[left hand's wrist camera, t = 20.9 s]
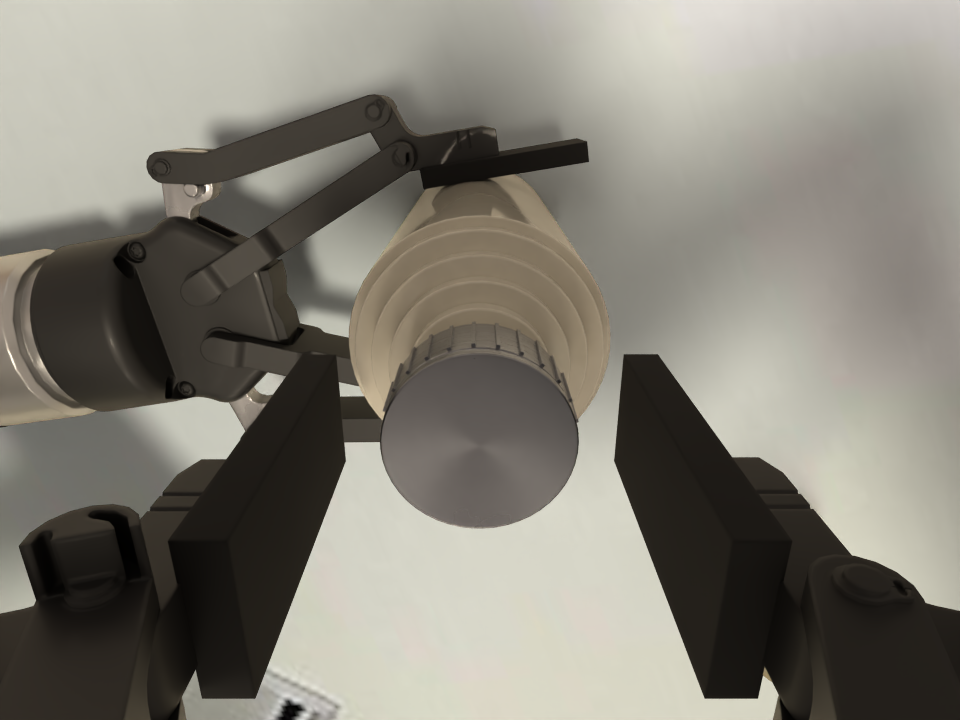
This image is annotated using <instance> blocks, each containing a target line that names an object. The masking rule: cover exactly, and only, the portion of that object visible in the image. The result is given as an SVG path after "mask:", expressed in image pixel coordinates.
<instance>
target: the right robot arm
mask: <svg viewBox="0 0 960 720" xmlns="http://www.w3.org/2000/svg"><path fill="white" fill-rule="evenodd" d="M369 132H371V134H372V136H373V138H374V139H375V141H376V143H377V144H378V146H379V148H380V149H381V151H380V152H379V153H377V154H376V155H374V156H373V157H371V158H370V159H368V160H367V161H365V162H364V163H362V164H361V165H359V166H358V167H356V168H355V169H353V170H352V171H350V172H349V173H347V174H346V175H344V176H343V177H341V178H339V179H338V180H336V181H335V182H333V183H332V184H330V185H329V186H327V187H326V188H324V189H323V190H321V191H320V192H318V193H317V194H315V195H314V196H312V197H311V198H309V199H308V200H306V201H305V202H303V203H302V204H300V205H299V206H297V207H296V208H294V209H293V210H291V211H290V212H288V213H287V214H285V215H284V216H282V217H281V218H279V219H278V220H276V221H275V222H273V223H272V224H270V225H269V226H267V227H266V228H264V229H263V230H261V231H259V232H258V233H256V234H255V235H253V236H252V237H250V238H247V237H245V236H243V235H240V234H238V233H236V232H234V231H232V230H230V229H228V228H226V227H223V226H221V225H219V224H217V223H215V222H213V221H211V220H209V219H207V218H204V217H202V216H200V215H199V210H200V207H201V205H202V204H203V203H204V202H206V201H209V200H212V199H215V198H216V197H218V196H219V194H220V192H221V182H223V181H226V180H230V179H234V178H237V177H241V176H244V175H248V174H251V173H254V172H257V171H259V170H262V169H265V168H268V167H271V166H274V165H277V164H280V163H283V162H285V161H288V160H291V159H294V158H297V157H300V156H303V155H306V154H309V153H312V152H314V151H317V150H320V149H323V148H326V147H329V146H332V145H335V144H338V143H340V142H343V141H346V140H349V139H352V138H355V137H358V136H361V135H364V134H367V133H369ZM585 162H589V158H588V147H587V141H584V140H580V139H571V140H565V141H559V142H553V143H547V144H541V145H535V146H530V147H524V148H518V149H512V150H506V151H500V152H499V150H498V143H497V136H496V130H495V129H494V128H490V127H486V126H477V127H471V128H465V129H459V130H454V131H448V132H442V133H436V134H430V135H418V134H415V133H413V132H412V131H411V130H409V129H408V127H407V126H406V124H405V122H404V121H403V119H402V117H401V115H400V114H399V112H398V110H397V106H396V104H395V103H394V101H393V100H392V99H390V98H389V97H386V96H382V95H375V94H374V95H367V96H365V97H362V98H359V99H356V100H353V101H350V102H348V103H345V104H342V105H339V106H336V107H333V108H331V109H328V110H325V111H322V112H319V113H316V114H314V115H311V116H308V117H305V118H302V119H299V120H297V121H294V122H291V123H288V124H285V125H282V126H280V127H277V128H274V129H271V130H268V131H265V132H262V133H260V134H257V135H254V136H251V137H248V138H245V139H243V140H240V141H237V142H234V143H231V144H228V145H226V146H223V147H220V148H217V149H198V148H183V149H175V150H167V151H161V152H154V153H153V154H151V155H150V156H149V158H148V160H147V170H148V173H149V174H150V176H151V177H152V178H153V179H154V180H156V181H157V182H160V183H162V188H163V195H164V202H165V209H166V216H167V218H166V219H164V220H162V221H161V222H159V223H158V224H157V225H156V226H155V227H154V228H153V229H152V230H150V231H148V232H144V233H138V234H132V235H126V236H120V237H114V238H108V239H102V240H96V241H90V242H84V243H78V244H72V245H67V246H63V247H61V248H59V249H57V250H50V249H42V250H36V251H30V252H24V253H18V254H13V255H7V256H1V257H0V427H6V426H9V425H17V424H25V423H32V422H39V421H47V420H54V419H61V418H69V417H76V416H82V415H87V414H91V413H93V412H95V411H114V410H120V409H127V408H134V407H140V406H147V405H154V404H160V403H167V402H173V401H178V400H183V399H187V398H192V397H206V398H210V399H214V400H217V401H220V402H229V403H230V405H231V407H232V408H233V410H234V412H235V413H236V415H237V417H238V419H239V420H240V422H241V424H242V426H243V427H244V429H245V433H246V432H247V430H248V429H249V427H250V426H251V425H252V423H253V422H254V421H255V419H256V418H257V416H258V415H259V414H260V412H261V411H262V409H263V408H264V407H265V405H266V404H267V403H268V401H269V400H270V398H271V397H272V396H273V395H263V394H261V393H259V392H258V391H257V390H256V389H255V388H254V386H255V385H256V384H257V383H258V382H259V381H260V380H261V379H262V378H263V377H264V376H265V375H266V374H267V372H269V373H274V374H279V375H283V376H287V375H288V373H289V372H290V371H291V369H292V368H293V367H294V365H295V364H296V362H297V361H298V360H299V358H300V357H301V355H302V354H336V358H337V369H338V380H339V382H341V383H346V384H351V385H356V386H359V384H358V382H357V379H356V377H355V374H354V370H353V366H352V363H351V357H350V349H349V338H347V337H342V336H338V335H333V334H328V333H325V332H323V331H322V330H321V329H320V328H318V327H314V326H310V325H305V324H300V322H299V319H298V315H297V311H296V308H295V307H294V305H293V303H292V301H291V300H290V298H289V296H288V295H287V276H286V272H285V269H284V265H283V261H282V259H281V260H277V257H279V256H280V255H282V254H283V253H285V252H286V251H288V250H289V249H291V248H292V247H294V246H295V245H297V244H298V243H300V242H301V241H303V240H304V239H306V238H308V237H309V236H311V235H312V234H314V233H315V232H317V231H318V230H320V229H321V228H323V227H324V226H326V225H328V224H329V223H331V222H332V221H334V220H335V219H337V218H338V217H340V216H341V215H343V214H344V213H346V212H347V211H349V210H351V209H352V208H354V207H355V206H357V205H358V204H360V203H361V202H363V201H364V200H366V199H367V198H369V197H370V196H372V195H374V194H375V193H377V192H378V191H380V190H381V189H383V188H384V187H386V186H387V185H389V184H390V183H392V182H394V181H395V180H397V179H398V178H400V177H401V176H403V175H404V174H406V173H408V172H409V171H415V170H420V172H421V177H422V183H423V188H424V189H429V188H435V187H441V186H447V185H453V184H459V183H465V182H471V181H477V180H483V179H489V178H495V177H501V176H507V175H513V174H519V173H525V172H531V171H537V170H543V169H549V168H555V167H561V166H567V165H573V164H579V163H585ZM340 402H341V414H342V425H343V436H344V442H380V434H381V433H380V427H381V424H382V421H383V420H382V419H381V418H380V417H379V416H378V415H377V414H376V412H375V411H374V410H373V408H372V407H371V406H370V404H369V403H368V401H367V400H366V398H365V396H361V397H340ZM245 433H244V434H245ZM244 434H243V436H244ZM243 436H242V437H243ZM242 437H241V439H242ZM241 439H240V440H241Z"/></svg>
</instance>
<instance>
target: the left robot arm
mask: <svg viewBox="0 0 960 720" xmlns="http://www.w3.org/2000/svg"><path fill="white" fill-rule="evenodd" d="M345 462H346V458H345V447H344V436H343V425H342V414H341V402H340V391H339V380H338V369H337V358H336V354H302V355H301V357H300V358H299V360H298V361H297V362H296V364H295V365H294V367H293V368H292V369H291V371H290V372H289V373H288V375H287V376H286V378H285V379H284V380H283V382H282V383H281V385H280V386H279V387H278V389H277V390H276V391H275V393H274V394H273V396H272V397H271V398H270V400H269V401H268V403H267V404H266V405H265V407H264V408H263V409H262V411H261V412H260V414H259V415H258V416H257V418H256V419H255V421H254V422H253V423H252V425H251V426H250V427H249V429H248V430H247V432H246V433H245V434H244V436H243V437H242V439H241V440H240V441H239V443H238V444H237V445H236V447H235V448H234V450H233V451H232V452H231V454H230V455H229V456H228V458H227V459H201V460H200V461H198V462H197V463H195V464H194V465H192V466H190V467H189V468H187V469H186V470H184V471H183V472H181V473H179V474H178V475H177V476H176V477H175V478H174V480H173V481H172V482H171V483H170V484H169V486H168V487H167V488H166V489H165V490H164V492H163V496H159V498H158V499H157V500H156V501H155V503H154V504H153V505H152V506H151V507H150V508H151V509H150V511H147V512H146V513H145V515H144V516H143V517H142V518H141V519H140V518H139V514H138V513H136V512H135V511H134V510H132V509H131V508H129V507H125V506H120V505H114V504H110V505H96V506H89V507H86V508H82V509H78V510H74V511H70V512H67V513H65V514H63V515H60V516H58V517H56V518H54V519H51V520H49V521H47V522H46V523H44V524H43V525H41V526H40V527H38V528H37V529H35V530H34V531H32V532H31V533H29V535H28V536H27V537H26V538H25V539H24V540H23V542H22V543H21V544H20V545H19V549H20V552H21V555H22V558H23V561H24V564H25V567H26V570H27V573H28V576H29V580H30V583H31V586H32V589H33V592H34V595H35V598H36V602H35V604H34V606H32V607H29V608H25V609H21V610H16V611H11V612H7V613H2V614H0V720H186V715H185V709H184V705H183V700H182V695H183V693H184V691H185V689H186V687H187V686H188V684H189V682H190V680H191V678H192V676H193V674H194V672H195V670H196V673H197V677H198V682H199V686H200V691H201V695H202V699H255V698H256V695H257V693H258V690H259V687H260V685H261V682H262V680H263V677H264V674H265V672H266V669H267V666H268V664H269V661H270V659H271V656H272V653H273V651H274V648H275V645H276V643H277V640H278V638H279V635H280V632H281V630H282V627H283V624H284V622H285V619H286V617H287V614H288V611H289V609H290V606H291V603H292V601H293V598H294V596H295V593H296V590H297V588H298V585H299V582H300V580H301V577H302V574H303V572H304V569H305V567H306V564H307V561H308V559H309V556H310V553H311V551H312V548H313V546H314V543H315V540H316V538H317V535H318V532H319V530H320V527H321V525H322V522H323V519H324V517H325V514H326V511H327V509H328V506H329V504H330V501H331V498H332V496H333V493H334V490H335V488H336V485H337V483H338V480H339V477H340V475H341V472H342V469H343V467H344V464H345ZM614 462H615V464H616V467H617V469H618V472H619V475H620V477H621V480H622V483H623V485H624V488H625V490H626V493H627V496H628V498H629V501H630V504H631V506H632V509H633V511H634V514H635V517H636V519H637V522H638V525H639V527H640V530H641V532H642V535H643V538H644V540H645V543H646V546H647V548H648V551H649V553H650V556H651V559H652V561H653V564H654V567H655V569H656V572H657V575H658V577H659V580H660V582H661V585H662V588H663V590H664V593H665V596H666V598H667V601H668V603H669V606H670V609H671V611H672V614H673V617H674V619H675V622H676V624H677V627H678V630H679V632H680V635H681V638H682V640H683V643H684V645H685V648H686V651H687V653H688V656H689V659H690V661H691V664H692V666H693V669H694V672H695V674H696V677H697V680H698V682H699V685H700V687H701V690H702V693H703V695H704V698H705V699H758V695H759V691H760V686H761V682H762V677H763V673H764V668H765V669H766V671H767V672H768V674H769V676H770V678H771V680H772V682H773V684H774V686H775V688H776V690H777V692H778V694H779V696H778V700H777V705H776V709H775V713H774V717H773V720H960V611H957V610H952V609H948V608H943V607H938V606H934V605H931V604H927V603H925V601H924V599H923V598H922V596H921V595H920V593H919V592H918V591H917V589H916V588H915V587H914V585H912V584H911V583H910V582H909V581H907V580H906V579H905V578H903V577H902V576H901V575H900V574H898V573H897V572H895V571H893V570H891V569H889V568H887V567H885V566H883V565H881V564H879V563H877V562H874V561H871V560H867V559H864V558H860V557H857V556H852V555H851V554H850V553H849V551H848V550H847V549H846V548H845V547H844V545H843V544H842V543H841V542H840V541H839V539H838V538H837V537H836V536H835V535H834V533H833V532H832V531H831V530H830V529H829V527H828V526H827V525H826V524H825V523H824V521H823V520H822V519H821V518H820V517H819V515H818V514H817V513H816V512H815V511H814V509H810V505H809V503H808V502H807V501H806V500H805V499H804V497H803V496H802V495H801V494H798V490H797V489H796V488H795V487H794V485H793V484H792V483H791V482H790V481H789V479H788V478H787V477H786V476H785V475H784V473H783V472H781V471H780V470H778V469H776V468H775V467H773V466H772V465H770V464H768V463H767V462H765V461H764V460H762V459H761V458H759V457H732V456H731V455H730V454H729V452H728V451H727V450H726V448H725V447H724V445H723V444H722V443H721V441H720V440H719V439H718V437H717V436H716V434H715V433H714V432H713V430H712V429H711V427H710V426H709V425H708V423H707V422H706V421H705V419H704V418H703V416H702V415H701V414H700V412H699V411H698V409H697V408H696V407H695V405H694V404H693V403H692V401H691V400H690V398H689V397H688V396H687V394H686V393H685V391H684V390H683V389H682V387H681V386H680V385H679V383H678V382H677V380H676V379H675V378H674V376H673V375H672V373H671V372H670V371H669V369H668V368H667V367H666V365H665V364H664V362H663V361H662V360H661V358H660V357H659V355H658V354H624V358H623V369H622V380H621V391H620V402H619V414H618V425H617V436H616V447H615V458H614Z"/></svg>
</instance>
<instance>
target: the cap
mask: <svg viewBox="0 0 960 720" xmlns="http://www.w3.org/2000/svg"><path fill="white" fill-rule="evenodd" d="M383 412H385V414H384V418H383V421H382V424H381V427H380V433H381V434H380V449H381V455H382V460H383V463H384V466H385V469H386V472H387V474H388V476H389V478H390V479H391V481H392V483H393V484H394V486H395V487H396V489H397V490H398V492H399V493H400V494H401V495H402V496H403V497H404V498H405V499H406V500H407V501H408V502H409V503H410V504H411V505H413V506H414V507H415V508H416V509H418V510H419V511H421V512H423V513H424V514H426V515H428V516H430V517H432V518H434V519H436V520H438V521H441V522H444V523H447V524H450V525H454V526H459V527H466V528H494V527H500V526H505V525H509V524H512V523H515V522H518V521H521V520H523V519H525V518H527V517H529V516H531V515H533V514H535V513H536V512H538V511H540V510H541V509H542V508H544V507H545V506H546V505H547V504H549V503H550V502H551V501H552V500H553V499H554V498H555V497H556V496H557V495H558V494H559V492H560V491H561V490H562V488H563V487H564V486H565V484H566V483H567V481H568V479H569V477H570V475H571V473H572V471H573V468H574V466H575V463H576V458H577V454H578V445H579V437H578V427H577V423H578V417H577V414H576V411H575V408H574V405H573V400H572V397H571V393H570V390H569V387H568V384H567V381H566V378H565V375H564V373H561V372H560V370H559V368H558V367H557V364H556V361H555V358H554V356H553V355H551V356H550V355H549V354H548V353H547V352H546V351H545V350H544V349H543V348H542V347H541V346H540V343H539V341H537V340H536V341H534V340H532V339H531V338H529V337H527V336H526V335H524V334H522V333H521V331H520V330H518V329H517V330H516V331H515V330H513V329H510V328H506V327H503V326H499V323H495V325H492V324H476V322H472V324H467V325H461V326H456V327H454V326H453V325H452V326H450V327H449V329H447V330H444V331H441V332H439V333H437V334H435V335H433V334H430V335H429V338H428V339H427V340H425V341H424V342H423V343H421V344H420V345H419V346H418V347H417V348H415V347H413V348H412V350H411V354H410V355H409V356H408V358H407V359H406V360H405V361H404V363H403V364H402V363H400V365H399V367H398V370H397V373H396V377H395V380H394V382H393V381H392V383H391V386H390V389H389V392H388V395H387V398H386V401H385V405H384V408H383Z"/></svg>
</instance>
